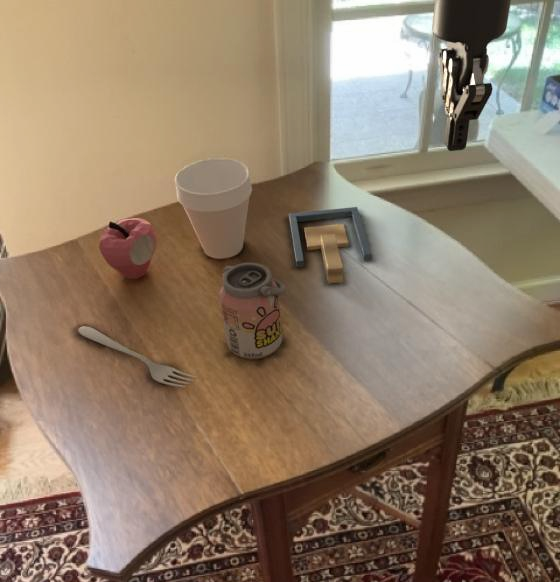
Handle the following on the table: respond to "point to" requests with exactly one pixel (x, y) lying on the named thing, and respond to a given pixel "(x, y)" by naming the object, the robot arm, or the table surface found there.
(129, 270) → the apple
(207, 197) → the cup
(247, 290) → the beverage can
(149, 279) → the table surface
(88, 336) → the fork
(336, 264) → the t-shaped block
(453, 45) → the robot arm
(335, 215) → the u-shaped stop
